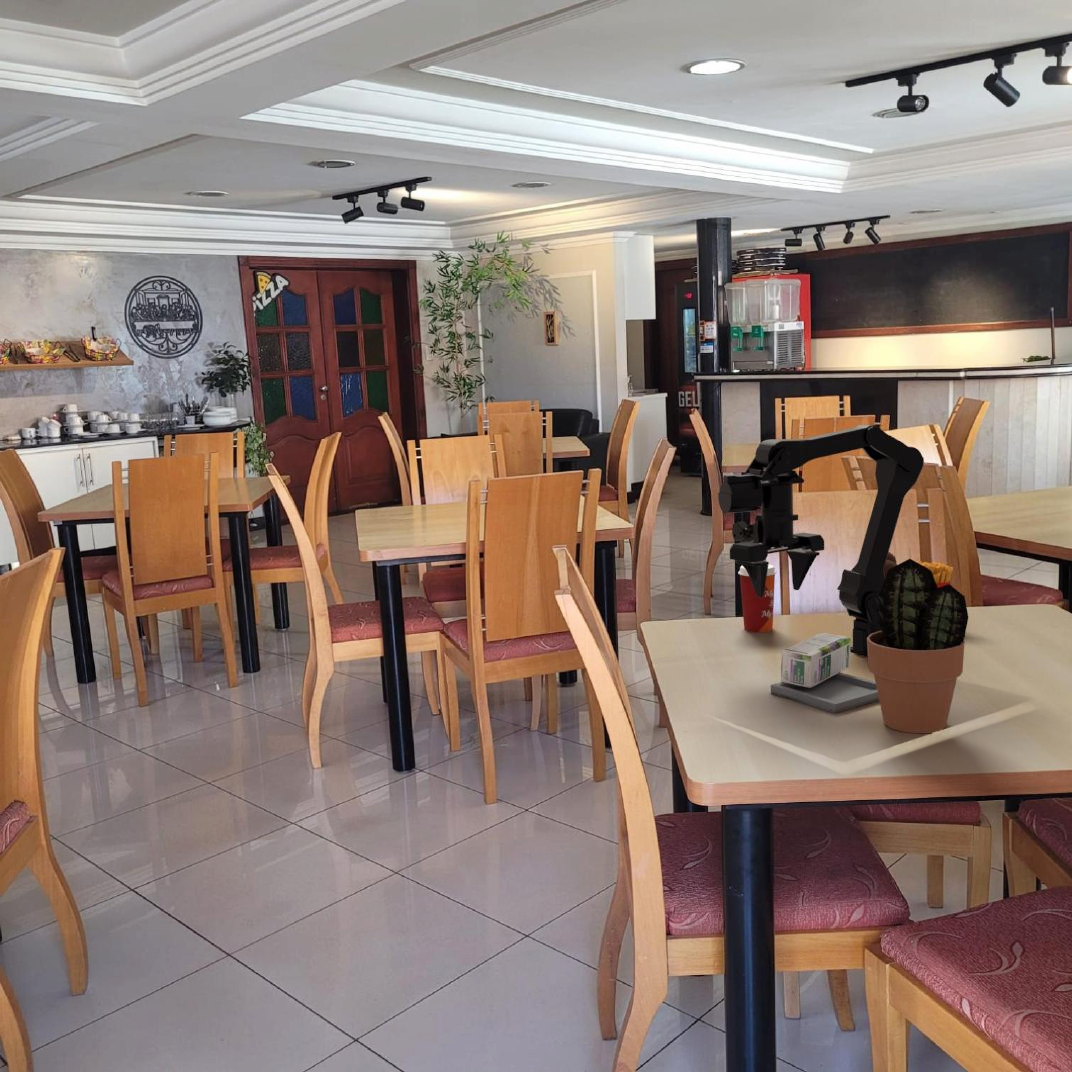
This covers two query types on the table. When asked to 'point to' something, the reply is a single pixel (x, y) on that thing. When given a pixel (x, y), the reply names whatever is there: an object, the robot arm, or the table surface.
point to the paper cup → (757, 602)
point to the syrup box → (815, 659)
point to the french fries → (937, 567)
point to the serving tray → (831, 693)
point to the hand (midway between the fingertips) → (778, 593)
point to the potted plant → (917, 648)
